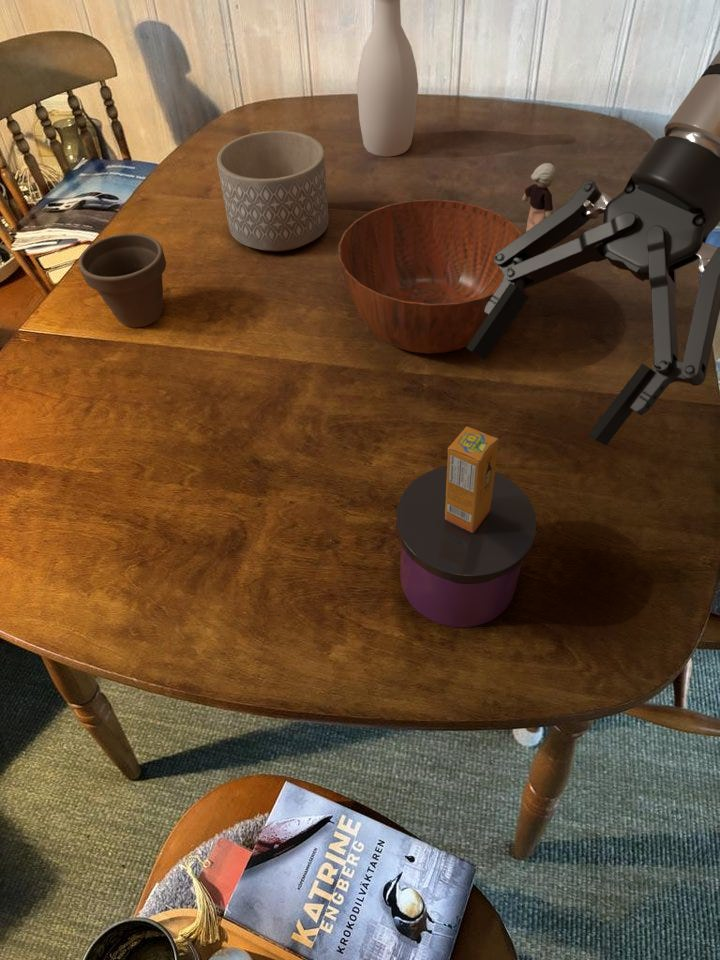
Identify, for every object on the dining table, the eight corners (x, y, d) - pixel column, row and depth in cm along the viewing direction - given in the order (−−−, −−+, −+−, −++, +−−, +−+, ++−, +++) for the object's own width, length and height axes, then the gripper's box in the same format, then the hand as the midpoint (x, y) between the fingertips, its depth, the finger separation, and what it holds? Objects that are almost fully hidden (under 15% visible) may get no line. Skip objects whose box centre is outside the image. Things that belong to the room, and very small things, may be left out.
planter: (342, 244, 116) (338, 167, 106) (243, 266, 113) (230, 189, 103) (311, 197, 126) (305, 123, 116) (220, 216, 123) (206, 141, 113)
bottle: (402, 164, 133) (405, 7, 114) (348, 153, 136) (342, -1, 117) (425, 139, 139) (431, -15, 120) (373, 129, 143) (371, -21, 123)
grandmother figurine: (558, 248, 114) (574, 169, 104) (540, 256, 112) (555, 177, 103) (525, 227, 118) (537, 150, 108) (507, 234, 117) (518, 157, 107)
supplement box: (458, 496, 69) (467, 422, 61) (490, 512, 67) (503, 438, 60) (440, 519, 67) (447, 445, 59) (472, 536, 66) (484, 463, 58)
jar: (534, 547, 77) (550, 486, 69) (501, 650, 69) (516, 595, 61) (419, 512, 80) (423, 450, 73) (376, 606, 73) (375, 549, 65)
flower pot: (83, 320, 105) (59, 259, 97) (142, 283, 111) (124, 223, 103) (136, 349, 100) (115, 288, 92) (194, 309, 106) (179, 248, 98)
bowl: (390, 399, 92) (390, 328, 84) (314, 296, 107) (308, 226, 98) (552, 343, 99) (568, 271, 90) (460, 253, 114) (466, 183, 105)
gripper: (865, 248, 51) (669, 488, 56) (589, 131, 64) (452, 335, 69) (864, 202, 44) (644, 476, 50) (559, 83, 58) (412, 311, 63)
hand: (532, 395), depth 60 cm, fingers open, 13 cm apart
